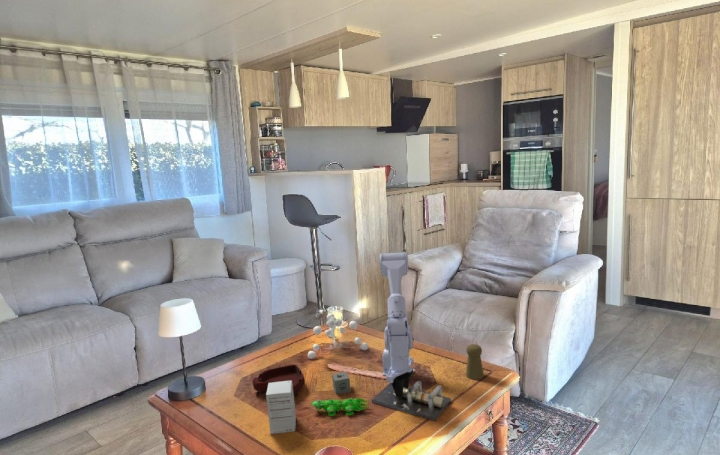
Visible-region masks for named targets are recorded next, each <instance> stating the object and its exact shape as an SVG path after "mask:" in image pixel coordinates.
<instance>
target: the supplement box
mask: <svg viewBox="0 0 720 455" xmlns="http://www.w3.org/2000/svg"><path fill="white" fill-rule="evenodd" d="M265 397H266V405H267V415H268V424H269V433H270V434H272V435H273V434H283V433H291V432H295V431H296V423H297V422H296V421H297V415H296V405H295V396H294V394H293V385H292V381H281V382H272V383H268V388H267V392H265Z"/></svg>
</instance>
